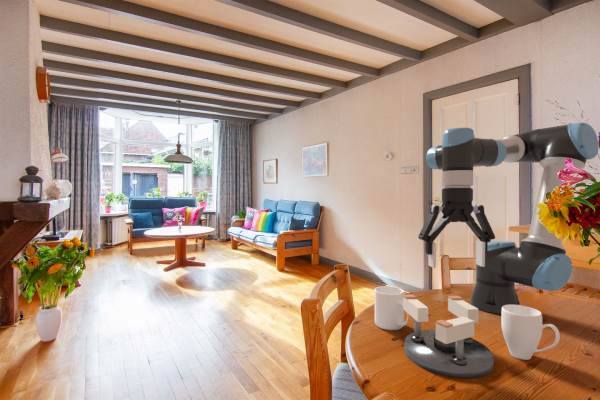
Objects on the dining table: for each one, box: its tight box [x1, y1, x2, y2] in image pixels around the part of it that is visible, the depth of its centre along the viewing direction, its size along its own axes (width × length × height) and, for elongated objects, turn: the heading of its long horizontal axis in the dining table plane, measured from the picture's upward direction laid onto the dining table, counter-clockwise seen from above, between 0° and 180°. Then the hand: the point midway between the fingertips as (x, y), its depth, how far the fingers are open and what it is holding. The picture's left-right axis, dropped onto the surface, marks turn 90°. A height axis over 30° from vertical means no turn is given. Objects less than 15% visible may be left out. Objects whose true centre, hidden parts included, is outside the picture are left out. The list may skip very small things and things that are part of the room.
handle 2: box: [447, 295, 480, 339], centre depth 85 cm, size 9×3×9 cm, turn 5°
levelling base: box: [404, 329, 494, 379], centre depth 81 cm, size 20×20×6 cm
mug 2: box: [500, 304, 561, 361], centre depth 79 cm, size 12×8×11 cm
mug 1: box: [374, 285, 410, 331], centre depth 97 cm, size 9×12×11 cm
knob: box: [435, 317, 475, 359], centre depth 73 cm, size 9×3×9 cm, turn 115°
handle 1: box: [403, 294, 429, 337], centre depth 86 cm, size 9×3×9 cm, turn 5°
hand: (456, 266), depth 88 cm, fingers open, 13 cm apart
